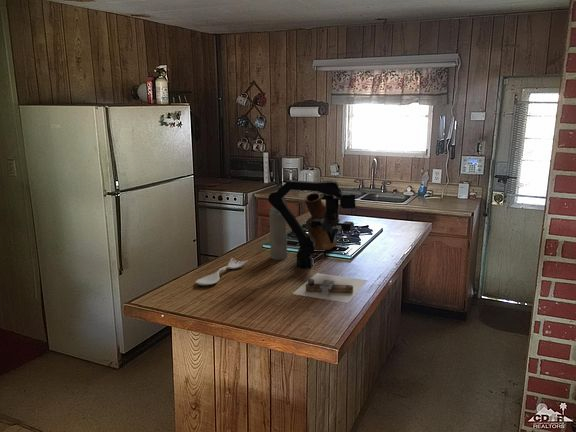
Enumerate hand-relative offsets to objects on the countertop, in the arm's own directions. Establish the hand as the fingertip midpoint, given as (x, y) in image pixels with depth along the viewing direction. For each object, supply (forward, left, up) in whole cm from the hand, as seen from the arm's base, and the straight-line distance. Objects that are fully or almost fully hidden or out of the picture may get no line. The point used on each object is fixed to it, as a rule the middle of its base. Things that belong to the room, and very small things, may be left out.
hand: (332, 243), depth 217 cm
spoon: (-42, -26, -12) cm, 51 cm away
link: (+9, -27, -11) cm, 31 cm away
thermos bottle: (-30, +6, -12) cm, 33 cm away
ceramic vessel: (-16, +24, -12) cm, 31 cm away
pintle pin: (+2, -29, -8) cm, 30 cm away
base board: (+8, -23, -12) cm, 27 cm away
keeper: (+9, -28, -11) cm, 32 cm away
